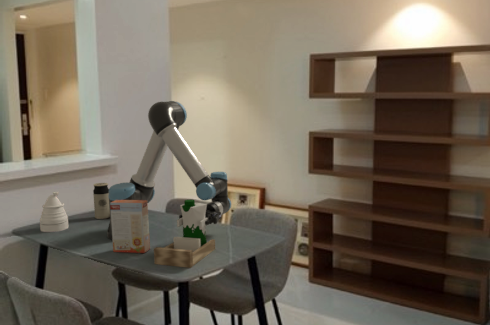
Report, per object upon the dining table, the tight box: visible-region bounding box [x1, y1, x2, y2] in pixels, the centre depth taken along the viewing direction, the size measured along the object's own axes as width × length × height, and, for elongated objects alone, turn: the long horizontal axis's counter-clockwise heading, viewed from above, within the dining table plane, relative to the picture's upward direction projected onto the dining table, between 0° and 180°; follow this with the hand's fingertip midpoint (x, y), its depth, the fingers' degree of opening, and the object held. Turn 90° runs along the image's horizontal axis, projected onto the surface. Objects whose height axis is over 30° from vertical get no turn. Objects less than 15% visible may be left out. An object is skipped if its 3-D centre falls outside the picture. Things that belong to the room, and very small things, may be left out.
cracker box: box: [110, 200, 151, 254], centre depth 202 cm, size 14×6×21 cm, turn 77°
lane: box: [153, 239, 216, 269], centre depth 194 cm, size 15×23×6 cm, turn 160°
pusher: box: [173, 236, 201, 253], centre depth 195 cm, size 11×2×7 cm, turn 70°
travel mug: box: [92, 182, 110, 220], centre depth 261 cm, size 8×8×18 cm
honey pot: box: [39, 191, 69, 233], centre depth 241 cm, size 13×13×18 cm
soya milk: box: [179, 198, 208, 246], centre depth 199 cm, size 9×9×20 cm
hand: (189, 224), depth 194 cm, fingers closed on soya milk, 9 cm apart
